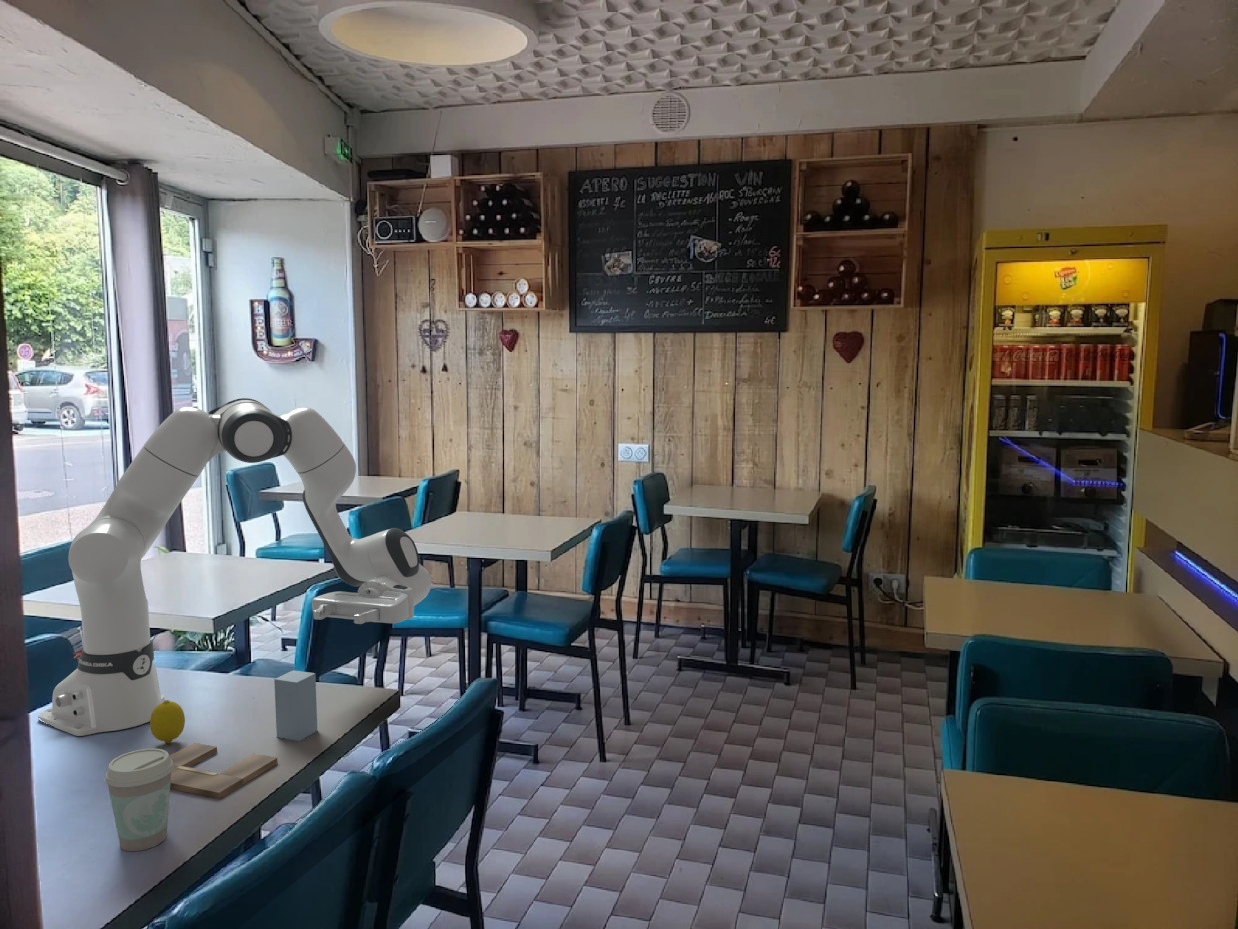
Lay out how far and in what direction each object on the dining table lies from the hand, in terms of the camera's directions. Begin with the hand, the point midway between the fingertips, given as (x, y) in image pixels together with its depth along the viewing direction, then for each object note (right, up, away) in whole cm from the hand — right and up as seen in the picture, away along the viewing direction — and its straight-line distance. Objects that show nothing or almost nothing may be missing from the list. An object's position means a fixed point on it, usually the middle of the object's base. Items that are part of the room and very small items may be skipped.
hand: (336, 617), depth 168 cm
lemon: (-26, -20, -14) cm, 35 cm away
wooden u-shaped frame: (-14, -21, -25) cm, 35 cm away
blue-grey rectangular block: (-4, -20, -9) cm, 22 cm away
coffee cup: (-12, -24, -45) cm, 53 cm away
